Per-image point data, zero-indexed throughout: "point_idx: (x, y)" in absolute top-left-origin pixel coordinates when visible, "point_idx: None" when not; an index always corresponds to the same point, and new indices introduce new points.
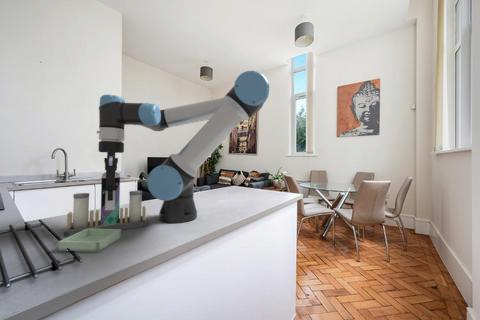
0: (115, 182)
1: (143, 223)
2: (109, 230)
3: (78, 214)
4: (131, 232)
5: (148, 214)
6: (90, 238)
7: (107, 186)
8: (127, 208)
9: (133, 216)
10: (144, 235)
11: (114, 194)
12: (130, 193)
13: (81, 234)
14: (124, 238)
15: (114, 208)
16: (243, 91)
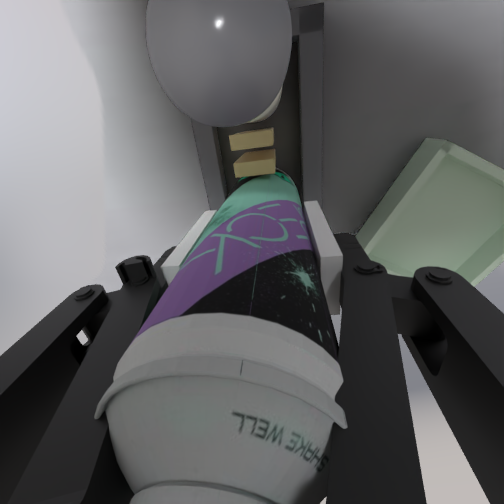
0: (323, 305)
1: (322, 28)
2: (417, 187)
3: None
4: (381, 95)
5: (71, 16)
6: (399, 236)
7: (439, 337)
8: (253, 133)
9: (281, 92)
10: (468, 16)
11: (334, 242)
12: (262, 110)
13: (387, 266)
14: (447, 119)
15: (317, 203)
16: None
